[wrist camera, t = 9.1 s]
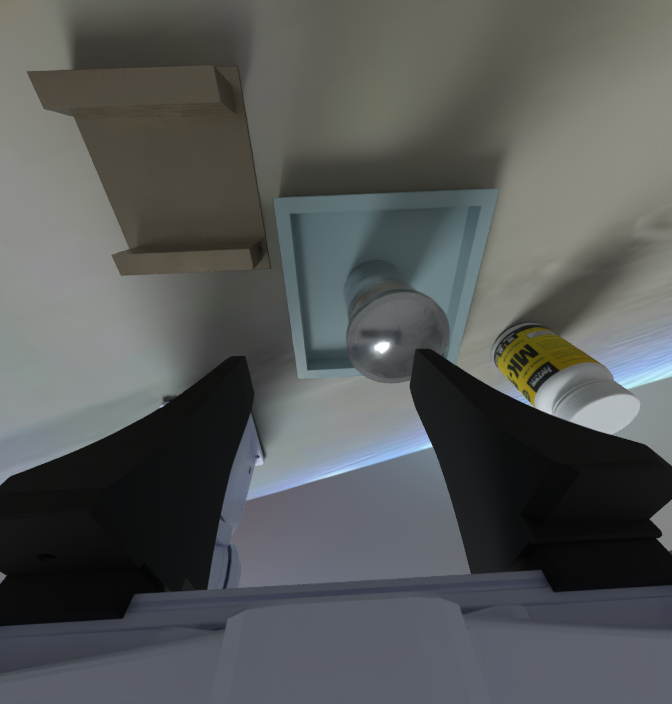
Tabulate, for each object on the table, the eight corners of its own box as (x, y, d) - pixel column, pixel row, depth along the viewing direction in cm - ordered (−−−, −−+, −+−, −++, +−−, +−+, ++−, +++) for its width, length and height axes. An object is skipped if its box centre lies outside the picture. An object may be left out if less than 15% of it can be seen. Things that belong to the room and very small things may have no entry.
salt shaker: (407, 318, 21) (444, 378, 14) (342, 325, 21) (350, 387, 14) (409, 251, 18) (456, 287, 12) (336, 259, 18) (342, 299, 12)
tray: (444, 357, 23) (454, 371, 22) (300, 364, 23) (298, 379, 21) (481, 188, 17) (499, 188, 15) (278, 196, 16) (273, 198, 15)
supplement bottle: (499, 321, 22) (585, 388, 15) (556, 320, 22) (669, 386, 15) (482, 369, 24) (549, 447, 17) (534, 368, 24) (621, 444, 17)
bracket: (271, 267, 19) (263, 279, 17) (143, 272, 19) (117, 285, 16) (239, 69, 14) (221, 44, 11) (61, 75, 14) (5, 51, 11)
